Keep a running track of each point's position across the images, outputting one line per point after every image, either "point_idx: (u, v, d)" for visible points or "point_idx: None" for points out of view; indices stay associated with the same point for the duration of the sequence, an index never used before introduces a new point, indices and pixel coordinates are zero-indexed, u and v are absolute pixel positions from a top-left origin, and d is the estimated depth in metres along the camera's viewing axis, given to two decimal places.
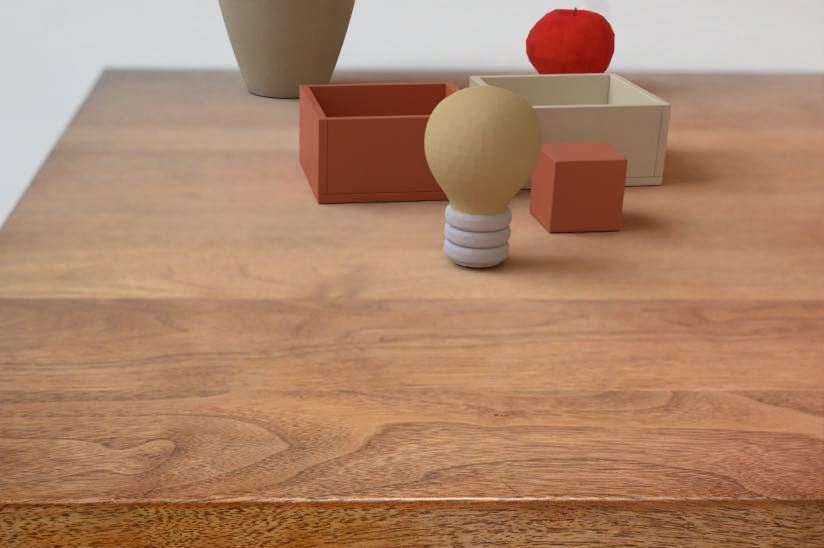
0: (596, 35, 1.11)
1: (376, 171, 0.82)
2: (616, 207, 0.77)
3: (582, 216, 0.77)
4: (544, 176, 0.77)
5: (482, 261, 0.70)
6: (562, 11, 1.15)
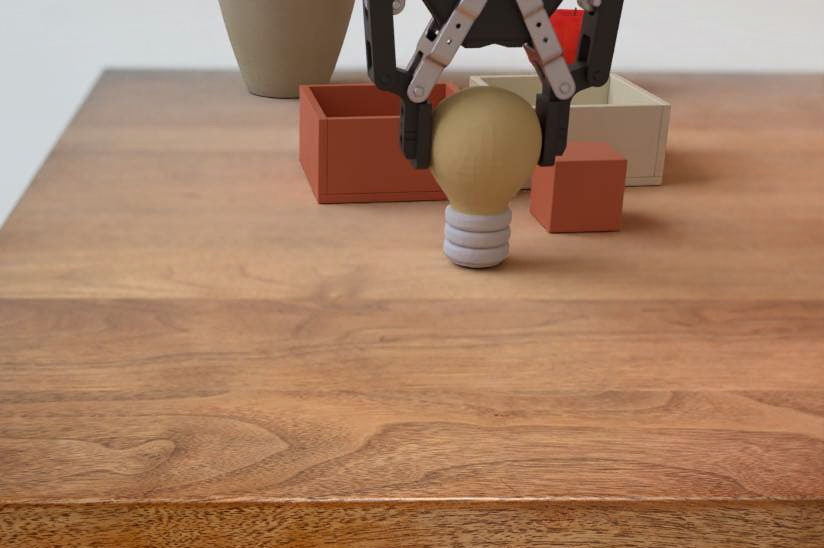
0: None
1: (376, 171, 0.82)
2: (616, 207, 0.77)
3: (582, 216, 0.77)
4: (544, 176, 0.77)
5: (482, 261, 0.70)
6: (562, 11, 1.15)
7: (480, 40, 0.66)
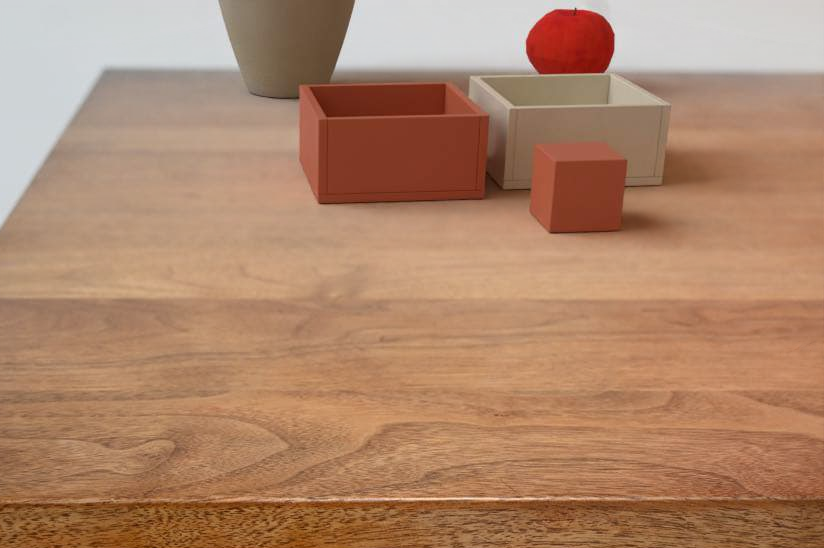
0: (596, 35, 1.11)
1: (376, 171, 0.82)
2: (616, 207, 0.77)
3: (582, 216, 0.77)
4: (544, 176, 0.77)
5: None
6: (562, 11, 1.15)
7: None
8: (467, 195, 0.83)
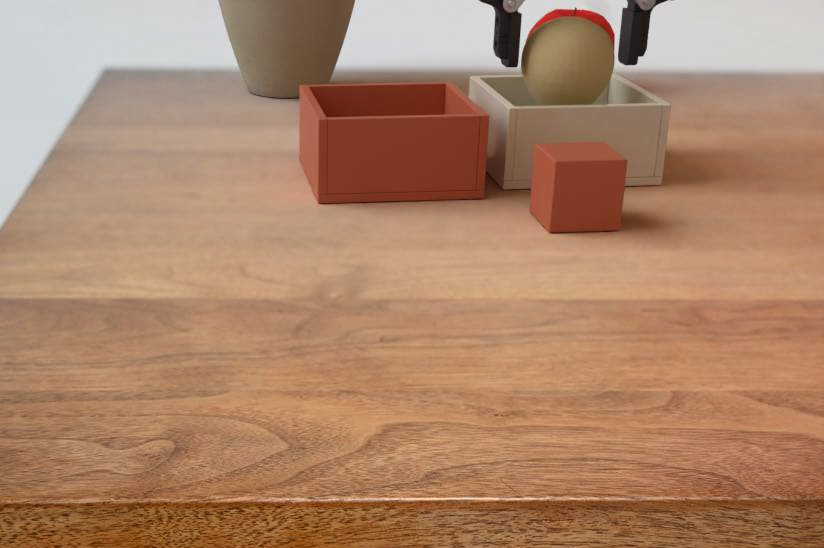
0: None
1: (376, 171, 0.82)
2: (616, 207, 0.77)
3: (582, 216, 0.77)
4: (544, 176, 0.77)
5: None
6: (562, 11, 1.15)
7: None
8: (467, 195, 0.83)
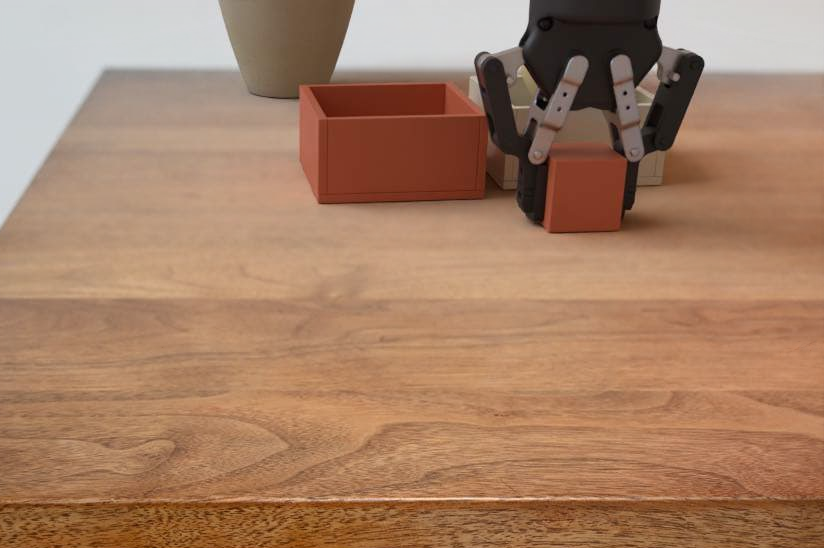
0: None
1: (376, 171, 0.82)
2: (616, 207, 0.77)
3: (582, 216, 0.77)
4: None
5: None
6: None
7: (578, 104, 0.75)
8: (467, 195, 0.83)
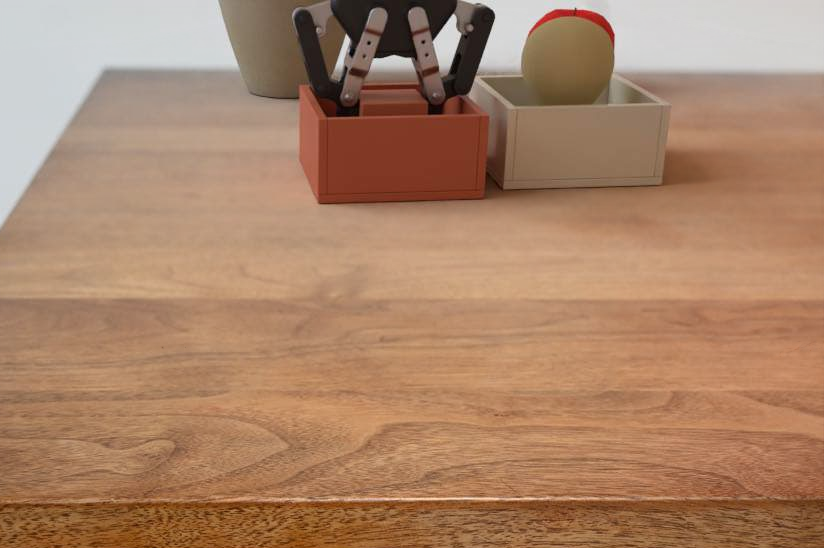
0: None
1: (376, 171, 0.82)
2: None
3: None
4: None
5: None
6: (562, 11, 1.15)
7: (382, 52, 0.84)
8: (467, 195, 0.83)
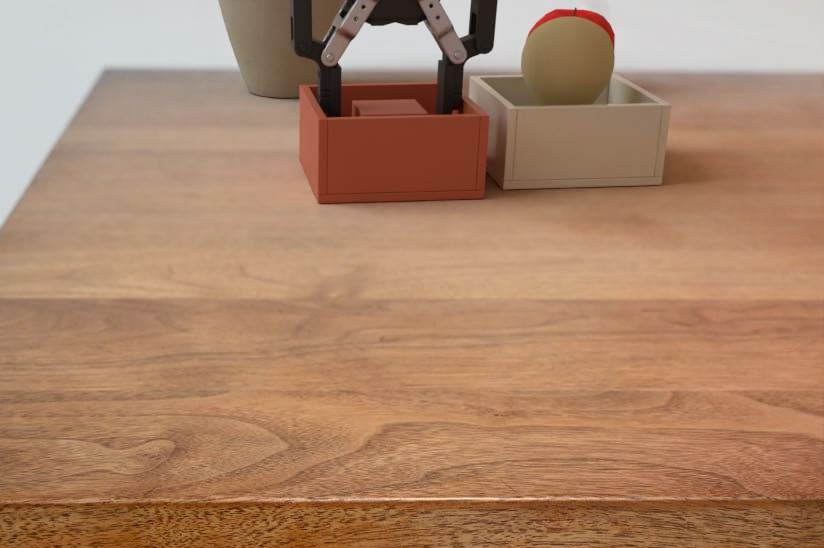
0: None
1: (376, 171, 0.82)
2: None
3: None
4: None
5: None
6: (562, 11, 1.15)
7: (383, 19, 0.83)
8: (467, 195, 0.83)
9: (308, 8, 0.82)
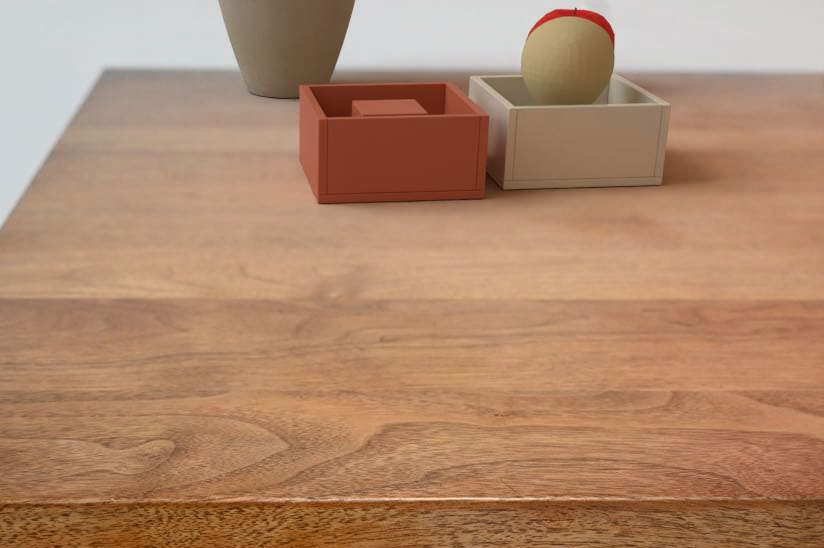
0: None
1: (376, 171, 0.82)
2: None
3: None
4: None
5: None
6: (562, 11, 1.15)
7: None
8: (467, 195, 0.83)
9: None
